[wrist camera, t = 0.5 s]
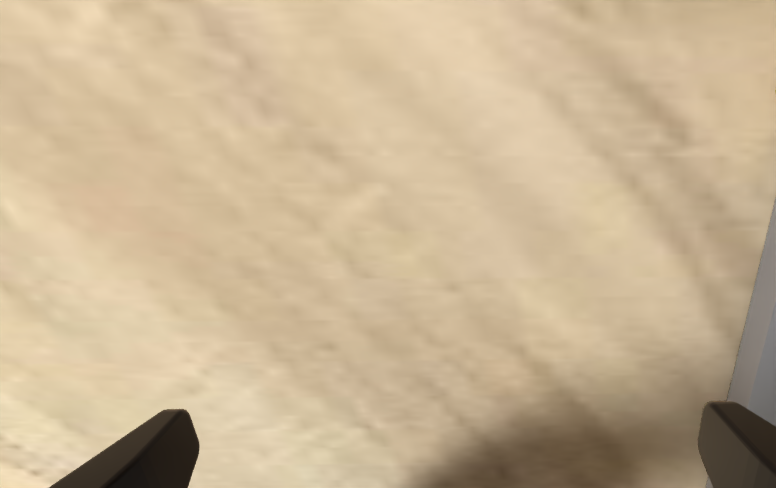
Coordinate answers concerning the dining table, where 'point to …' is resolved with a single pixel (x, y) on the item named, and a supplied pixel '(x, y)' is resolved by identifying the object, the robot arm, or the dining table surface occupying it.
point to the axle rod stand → (759, 341)
